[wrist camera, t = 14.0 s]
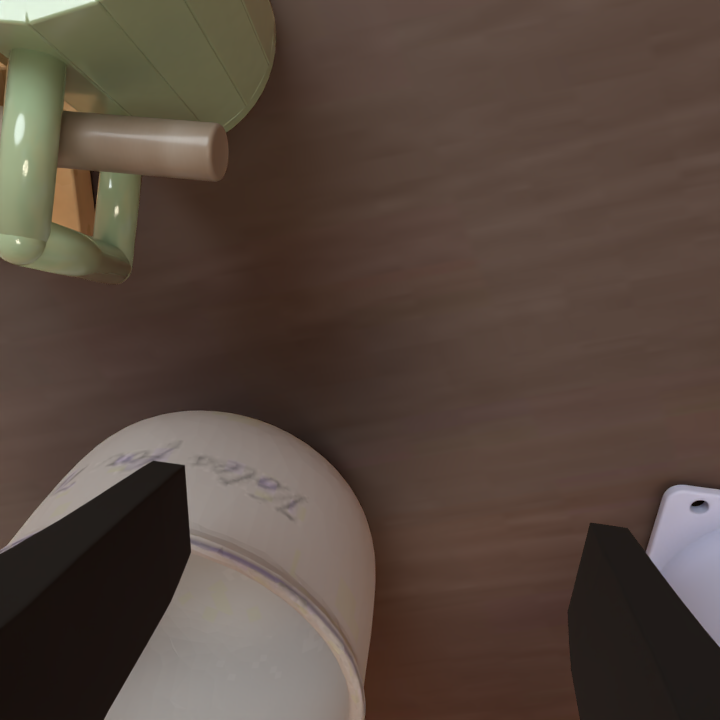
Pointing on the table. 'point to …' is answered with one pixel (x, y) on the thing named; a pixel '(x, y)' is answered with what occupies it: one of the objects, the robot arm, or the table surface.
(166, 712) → the teacup
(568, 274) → the table surface
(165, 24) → the mug
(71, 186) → the mug stand
